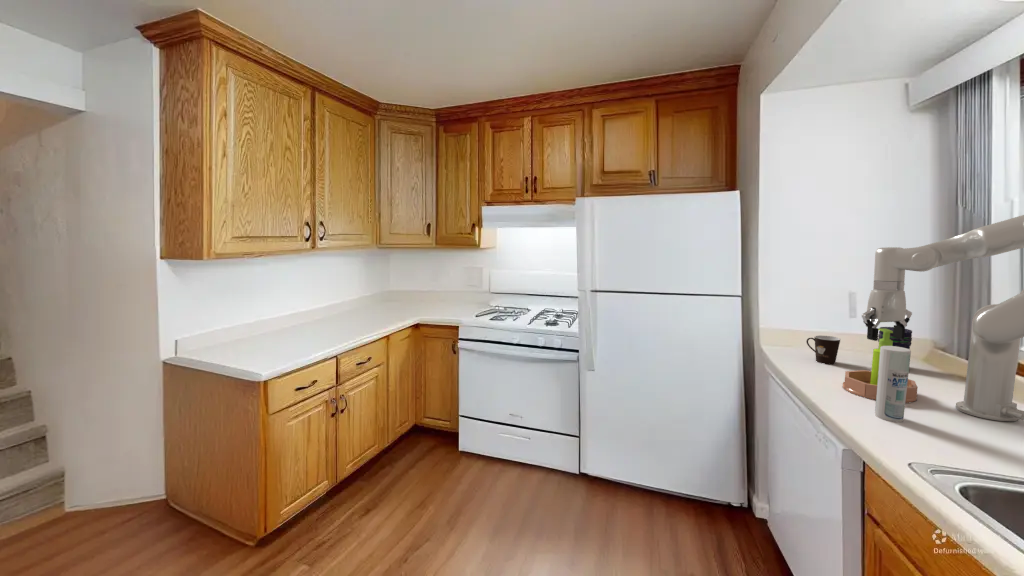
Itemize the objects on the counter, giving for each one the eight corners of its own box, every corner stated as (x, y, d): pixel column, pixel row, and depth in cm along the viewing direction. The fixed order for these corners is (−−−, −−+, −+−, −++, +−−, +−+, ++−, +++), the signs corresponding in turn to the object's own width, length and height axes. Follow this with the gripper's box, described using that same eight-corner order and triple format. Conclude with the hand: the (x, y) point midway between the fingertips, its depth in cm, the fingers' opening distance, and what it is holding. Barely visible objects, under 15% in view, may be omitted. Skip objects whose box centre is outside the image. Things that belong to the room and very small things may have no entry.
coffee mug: (843, 365, 178) (845, 340, 177) (821, 365, 178) (823, 340, 177) (824, 357, 190) (825, 333, 189) (803, 357, 190) (805, 333, 189)
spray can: (890, 412, 131) (896, 345, 129) (910, 421, 125) (917, 351, 123) (868, 413, 131) (874, 345, 129) (887, 422, 125) (894, 351, 122)
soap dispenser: (882, 386, 151) (887, 327, 148) (897, 393, 144) (903, 331, 142) (863, 385, 152) (868, 327, 149) (877, 392, 145) (883, 331, 142)
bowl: (933, 400, 140) (935, 386, 140) (880, 404, 137) (881, 390, 137) (876, 381, 159) (877, 368, 158) (828, 384, 156) (829, 371, 155)
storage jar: (870, 365, 178) (873, 328, 176) (884, 362, 182) (887, 325, 180) (900, 372, 169) (904, 333, 167) (914, 368, 173) (918, 330, 171)
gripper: (900, 284, 149) (897, 335, 150) (854, 286, 146) (851, 338, 148) (924, 286, 141) (920, 340, 143) (875, 288, 139) (872, 343, 141)
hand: (885, 339), depth 145 cm, fingers open, 9 cm apart
